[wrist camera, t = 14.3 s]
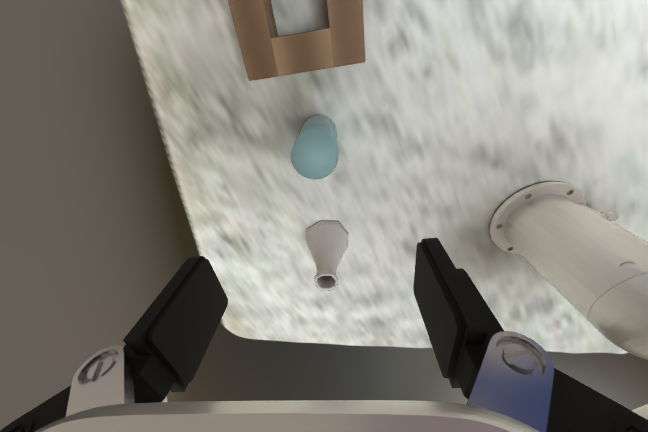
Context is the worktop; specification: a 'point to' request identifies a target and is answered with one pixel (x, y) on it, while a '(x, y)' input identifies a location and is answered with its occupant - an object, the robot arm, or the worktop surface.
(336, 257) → the flask
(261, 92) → the worktop surface
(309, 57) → the walnut pocket block
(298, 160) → the teal peg
